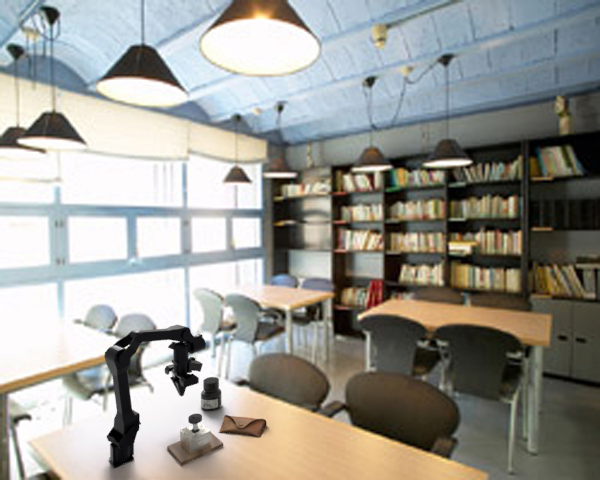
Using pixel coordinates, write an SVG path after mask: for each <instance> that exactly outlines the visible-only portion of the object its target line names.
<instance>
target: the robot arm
mask: <svg viewBox="0 0 600 480" xmlns="http://www.w3.org/2000/svg"><path fill="white" fill-rule="evenodd" d="M159 341H160V342H161V341H172V342H171V343H170V344H168V349H171V350H173V351H172V352H173V356H172V357H173V359H171V364H167V365H165V367H164V374H166V375H168V376H169V375H170V372H171V377H169V378H170V381H171V382H172V383H173V385H174V387H175V390H176V391H177V394H178V396H180V397H184V395H185V392H186V389H187V387H192V386H194V385H198V384H199V381H200V377H198V376H197V375H195V374H194V373H192V372H193V371H194V372H200V373H201V371H202V367H203V363H202V362H201V361H198V360H196V358H195V357H194V356H190V357H189V354H191V355H193V354H195V353H199V352H201V351H203V350H205V349H206V347H207V343H206V340H205V338H204V337H203V334H201V333H197V334H196V335H193V333H192V331H191V329H190V327H188V326H185V325H184V326H183V325H182V324H181V325H180V324H174V325H171V326H169V327H167V328H158V329H140V330H139V329H133V330H130V332H129V333H128V334H126V335H125V336H123V337H122V338H120V339H119V340H117V341H116V342H115V343H114V344H113V345H111V346H109V347H108V348H107V349H106V351H104V359H105V360H104V361H105V364H106V366H107V367H108V369H109V370H110V373H111V374H112V382H113V390H114V398H115V405H116V406H115V407H116V413H115V417H114V418H113V427H112V428H111V429H110V431H109V433H108V434H107V435H106V439H107V441H108V442H110V444H109V449H110V450H109V453H110V454H109V455H110V456H109V457H108V460H109V462H110V464H111V465H112V468H114V469H115V468H118V467H120V466H123V465H125V464H127V463H130V462H132V461H134V460H135V457H134V455H135V448H134V447H135V445H134V444H135V440H136V439H137V434H138V432H139V431H140V425H142V422H141V421H140V418H141V417H140V413H139V412H138V411H135V410H134V409H133V408H132V407H133V406H132V399H131V390H130V383H129V373H128V372H129V369H130V366H131V361H132V360H131V359H132V357H133V356H134V355H136V353H137V351H138V349H139V347H140V345H141V344H142V343H148V342H159Z"/></svg>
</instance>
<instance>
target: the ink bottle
mask: <svg viewBox="0 0 600 480" xmlns="http://www.w3.org/2000/svg"><path fill="white" fill-rule="evenodd" d="M202 383H203V384H202V387H203V390H202V391H201V393H200V408H201V409H202V410H204V411H207V412H209V411H210V412H211V411H216V410H218V409H220V408H221V407H222V390H221V389H220V379H219V378H218V377H216V376H210V377H206V378H204V379H203V382H202Z"/></svg>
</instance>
